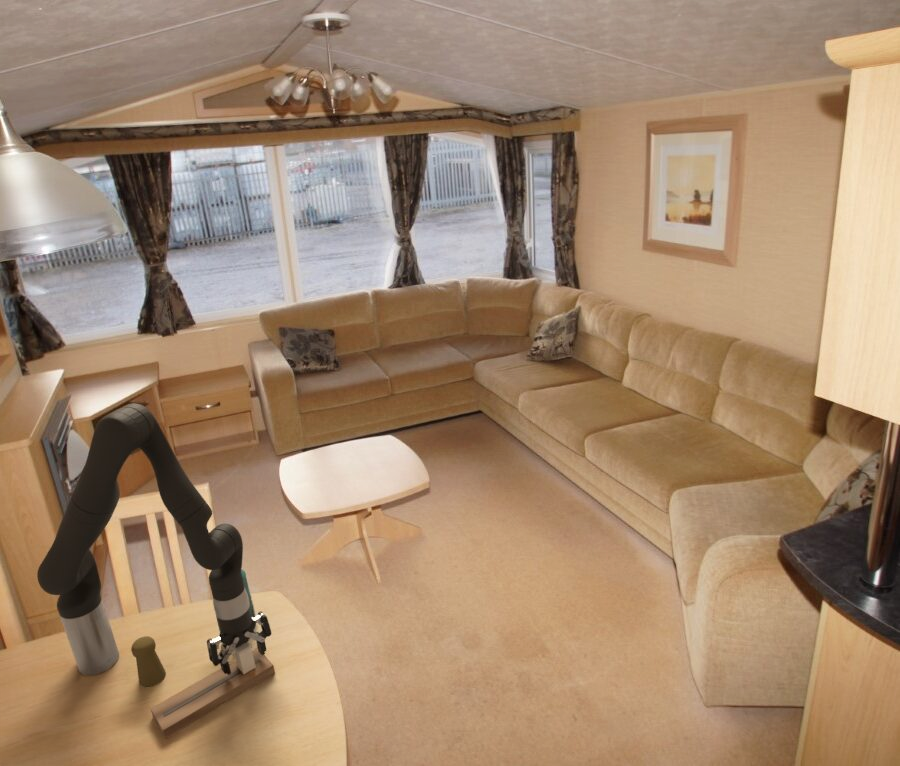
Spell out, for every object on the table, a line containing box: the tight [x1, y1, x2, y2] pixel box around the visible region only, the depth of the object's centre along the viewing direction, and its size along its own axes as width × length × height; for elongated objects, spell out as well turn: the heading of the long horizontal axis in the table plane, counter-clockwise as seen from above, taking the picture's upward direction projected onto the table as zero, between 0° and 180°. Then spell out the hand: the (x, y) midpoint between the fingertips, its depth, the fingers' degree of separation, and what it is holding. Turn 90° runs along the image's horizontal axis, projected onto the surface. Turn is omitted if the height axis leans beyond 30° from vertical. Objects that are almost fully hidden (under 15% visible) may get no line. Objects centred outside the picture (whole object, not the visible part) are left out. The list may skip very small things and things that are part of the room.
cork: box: [130, 635, 167, 688], centre depth 162 cm, size 6×6×11 cm
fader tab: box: [232, 641, 256, 674], centre depth 160 cm, size 4×3×7 cm
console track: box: [150, 647, 276, 740], centre depth 157 cm, size 8×26×3 cm, turn 131°
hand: (245, 662), depth 161 cm, fingers open, 8 cm apart
